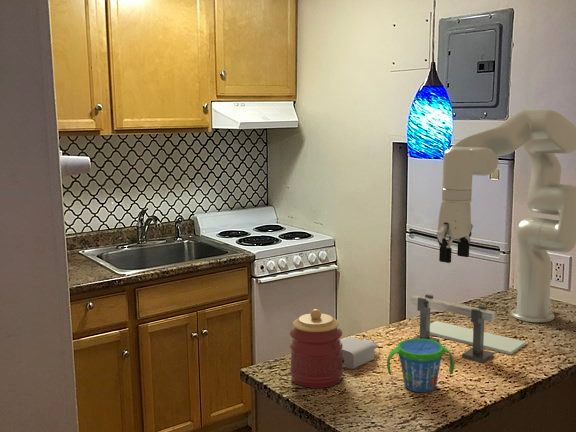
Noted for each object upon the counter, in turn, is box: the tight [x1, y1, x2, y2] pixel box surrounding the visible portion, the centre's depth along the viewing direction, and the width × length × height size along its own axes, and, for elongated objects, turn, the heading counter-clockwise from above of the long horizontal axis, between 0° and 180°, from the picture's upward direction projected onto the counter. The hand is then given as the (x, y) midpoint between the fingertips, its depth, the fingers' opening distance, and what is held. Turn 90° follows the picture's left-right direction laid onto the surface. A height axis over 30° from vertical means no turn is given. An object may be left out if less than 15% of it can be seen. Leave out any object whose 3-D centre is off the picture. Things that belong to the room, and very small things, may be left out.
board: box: [418, 320, 527, 355], centre depth 181 cm, size 10×28×1 cm, turn 47°
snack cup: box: [386, 338, 455, 393], centre depth 149 cm, size 16×10×10 cm
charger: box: [340, 336, 379, 370], centre depth 168 cm, size 5×9×15 cm
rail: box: [410, 294, 497, 322], centre depth 171 cm, size 2×24×2 cm, turn 48°
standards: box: [412, 294, 495, 364], centre depth 172 cm, size 6×22×14 cm, turn 48°
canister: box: [289, 308, 344, 389], centre depth 155 cm, size 13×13×18 cm
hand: (454, 259), depth 169 cm, fingers open, 9 cm apart
